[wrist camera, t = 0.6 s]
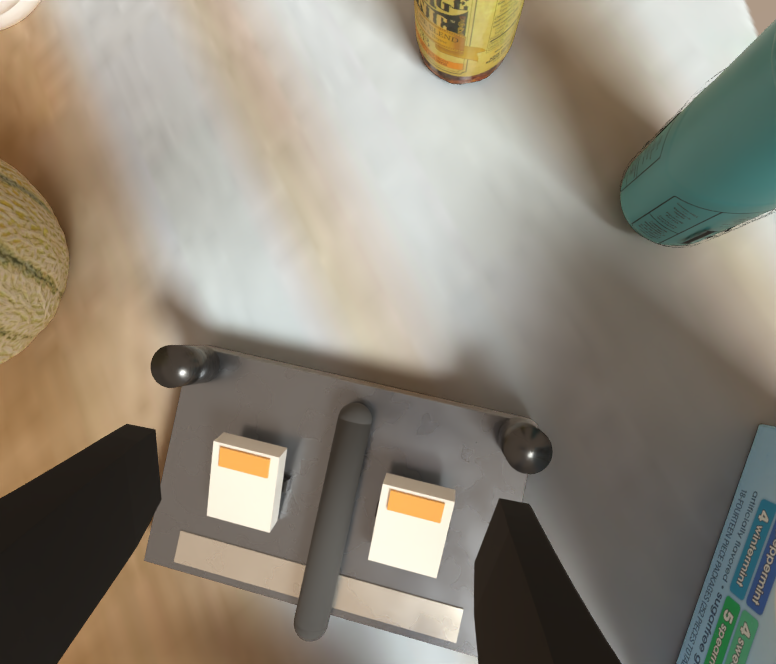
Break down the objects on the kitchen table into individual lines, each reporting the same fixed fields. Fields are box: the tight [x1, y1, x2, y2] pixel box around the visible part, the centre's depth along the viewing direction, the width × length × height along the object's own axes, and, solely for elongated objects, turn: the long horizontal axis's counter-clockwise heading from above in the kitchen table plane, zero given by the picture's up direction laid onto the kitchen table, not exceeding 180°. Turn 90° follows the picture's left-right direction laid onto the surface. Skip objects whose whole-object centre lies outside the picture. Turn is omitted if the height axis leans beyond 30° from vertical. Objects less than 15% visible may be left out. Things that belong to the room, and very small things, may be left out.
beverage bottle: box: [620, 20, 776, 248], centre depth 20 cm, size 6×7×20 cm
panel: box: [144, 345, 552, 657], centre depth 29 cm, size 14×22×6 cm, turn 78°
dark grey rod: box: [294, 403, 372, 641], centre depth 28 cm, size 14×2×2 cm, turn 168°
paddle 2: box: [368, 473, 455, 578], centre depth 27 cm, size 5×4×1 cm
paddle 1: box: [207, 432, 287, 533], centre depth 28 cm, size 5×4×1 cm
